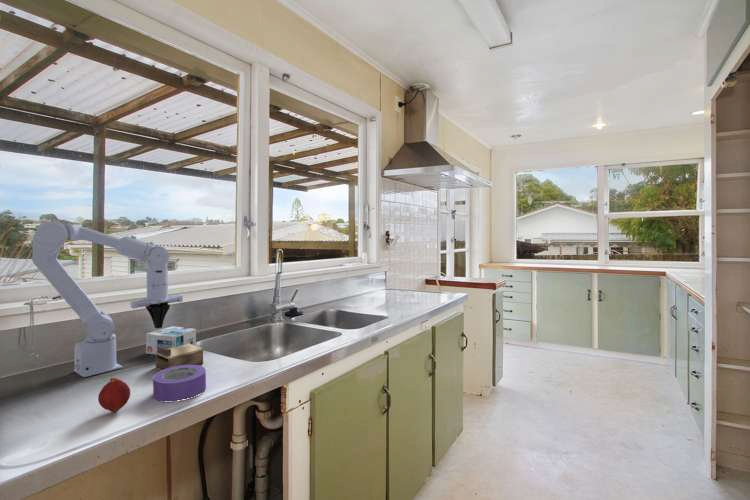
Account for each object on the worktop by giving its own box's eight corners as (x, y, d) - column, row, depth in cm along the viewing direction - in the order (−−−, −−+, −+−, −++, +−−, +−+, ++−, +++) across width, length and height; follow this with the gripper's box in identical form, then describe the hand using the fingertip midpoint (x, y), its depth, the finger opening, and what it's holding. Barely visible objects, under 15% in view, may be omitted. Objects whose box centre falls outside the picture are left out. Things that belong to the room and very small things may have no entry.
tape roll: (178, 406, 87) (177, 385, 87) (141, 398, 91) (141, 377, 91) (216, 387, 98) (216, 368, 98) (182, 380, 103) (181, 362, 102)
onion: (109, 406, 87) (108, 371, 86) (135, 405, 87) (135, 371, 87) (92, 418, 81) (91, 382, 81) (121, 417, 82) (120, 381, 81)
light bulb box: (196, 328, 130) (172, 336, 120) (196, 347, 130) (172, 357, 120) (171, 325, 133) (144, 333, 123) (171, 344, 133) (145, 353, 123)
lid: (169, 359, 106) (169, 351, 106) (155, 353, 111) (155, 345, 111) (203, 350, 114) (203, 342, 114) (189, 345, 119) (189, 337, 119)
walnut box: (169, 373, 106) (169, 359, 106) (155, 367, 111) (155, 354, 111) (203, 364, 114) (203, 351, 114) (189, 358, 119) (189, 346, 119)
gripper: (137, 288, 109) (138, 334, 110) (187, 283, 121) (187, 325, 121) (127, 286, 113) (128, 330, 114) (176, 281, 125) (176, 321, 126)
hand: (158, 327), depth 118 cm, fingers closed
